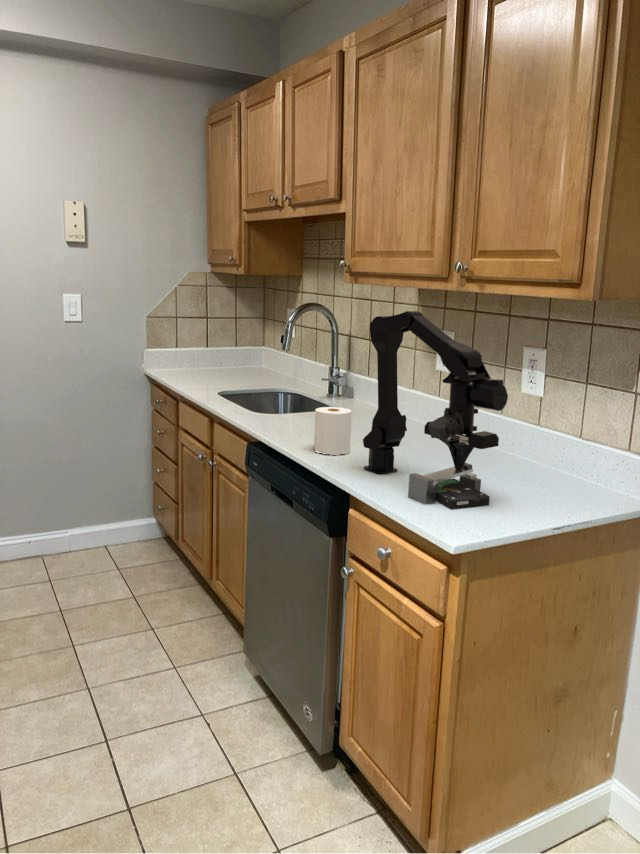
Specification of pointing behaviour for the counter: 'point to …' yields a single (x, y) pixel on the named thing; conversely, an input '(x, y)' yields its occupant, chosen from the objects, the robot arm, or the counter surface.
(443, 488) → the disk drive
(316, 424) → the toilet paper
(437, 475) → the grey long flat bar
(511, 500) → the counter surface
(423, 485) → the hinge bracket
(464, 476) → the lug
